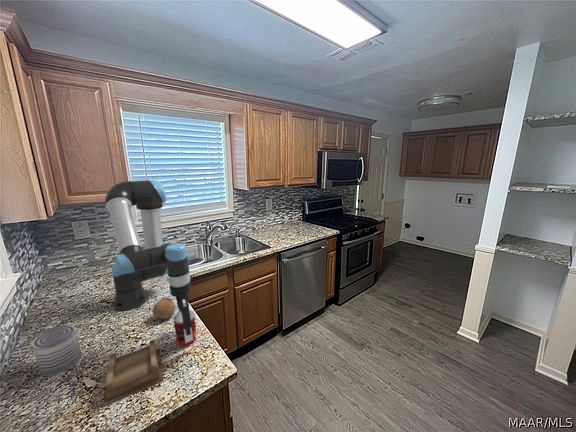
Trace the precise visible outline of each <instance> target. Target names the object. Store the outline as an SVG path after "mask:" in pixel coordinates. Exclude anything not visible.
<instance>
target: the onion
mask: <svg viewBox="0 0 576 432" xmlns="http://www.w3.org/2000/svg"><path fill="white" fill-rule="evenodd" d="M175 311H176V304H175V302H174V301H173V299H172V298H171V297H167V296H166V297H164V298H162V299H160V300H158V301H157V302H155V304H154V306H153V308H152V314H153V316H154V317H155V318H157V319H158V320H162V321H163V320H167V319H169V318H171V317H172V316H173V315H174V314H175Z"/></svg>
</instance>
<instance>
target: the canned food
mask: <svg viewBox="0 0 576 432" xmlns="http://www.w3.org/2000/svg"><path fill="white" fill-rule="evenodd" d="M189 312H190V318H191V323H192V336H193V340H192V341H189V342H187V343H185V336H184V329H182V327H184V324H183V319H182V314H181V312H180V313H179V312H177V314H175V316H174V317H173V325H174V330H175V338H176V343H177V345H178V346H180V347H186V346H189V345H191V344H193V343H194V342H195V341H196V340H197V337H198V336H197V335H198V334H197V328H196V318H195V312H194V311H192V310H189Z"/></svg>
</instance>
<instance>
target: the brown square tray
mask: <svg viewBox="0 0 576 432" xmlns="http://www.w3.org/2000/svg"><path fill="white" fill-rule="evenodd" d="M160 350H161V349H160V348H157V344H156V343H155V339H151V340H149V345H148V346H145V347H143V348H139V349H137V350H134V351H132V352H129V353H126V354H123V355H120V356H116V352H114V353H111V354H109V357H108V358H109V359H108V366H107V372H106V378H105V385H104V386H105V390H104V395H103V396H104V397H103V403H102V407H103V408H105V407H106V406H108V405H111V404H113V403H115V402H118V401H120V400H122V399H125V398H127V397H129V396H131V395H133V394H136V393H138V392H140V391H143V390H145V389H147V388H149V387H151V386H154V385H157V384H159V383H160V382H163V381H164V375H163V367H162V365H163V364H162V357H161V351H160Z"/></svg>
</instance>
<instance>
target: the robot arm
mask: <svg viewBox="0 0 576 432" xmlns="http://www.w3.org/2000/svg"><path fill="white" fill-rule="evenodd" d="M165 191H166V190H165V188H164V186H163V184H162V183H161V182H160V181H159V180H155V179H154V180H153V179H151V180H150V179H146V180H143V179H142V180H131V181H130V180H126V181H120V182H118V183H116V184H115V185H113V186H112V187H111V188H109V190H108V191H107V192H106V195H105V197H104V206H105V209H106V211H107V212H108V213H110V214H109V215H110V218H111V222H112V223H111V224H112V227H113V230H114V231H113V232H114V235H115V238H116V244H117V248H118V251H119V254H117V255H115V256H114V261H115V263H114V265H112V266H111V276H112V278H113V284H114V289H115V296H114V301H113V308H114V310H116V311H119V312H121V311H122V312H123V311H124V312H125V311H129V310H134V309H136V308H138V306H139V307H141V306H142V305H144V304H145V303H146V302H147V301H148V300H149V296H148V293H147V291H146V289H145V288H144V286H143V282H145V281H148V280H151V279H156V278H159V277H164V276H166V275H167V276H168V277H167V278H166V281H168V284H169V290H170V295H171V296H172V297H175V301H176V305H177V308H178V309H177V310H178V312H177V313H180V312H181V314H182V319H183V324H184V327H182V329H184V336H185V343H187V342H189V341H192V340H193V336H192V323H191V318H190V312H189V311H190V308H189V307H190V305H189V297H188V294H190V292H191V291H192V283H191V275H190V273H191V271H190V267H189V258H188V250H187V245H186V244H184V243H171V242H164V238H163V230H162V218H161V209H162V208H163V207H164V205H163V204H165V203H167V196H166V192H165ZM133 206H135V207H136V209H137V210H139V212H140V218H141V225H142V232H143V233H142V234H143V242H144V249H143V245H142V243H141V240H140V239H141V238H140V236H139V232H138V229H137V225H136V223H135V219H134V216H133V212H132V207H133ZM147 299H148V300H147ZM140 305H141V306H140ZM133 308H134V309H133Z"/></svg>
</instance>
